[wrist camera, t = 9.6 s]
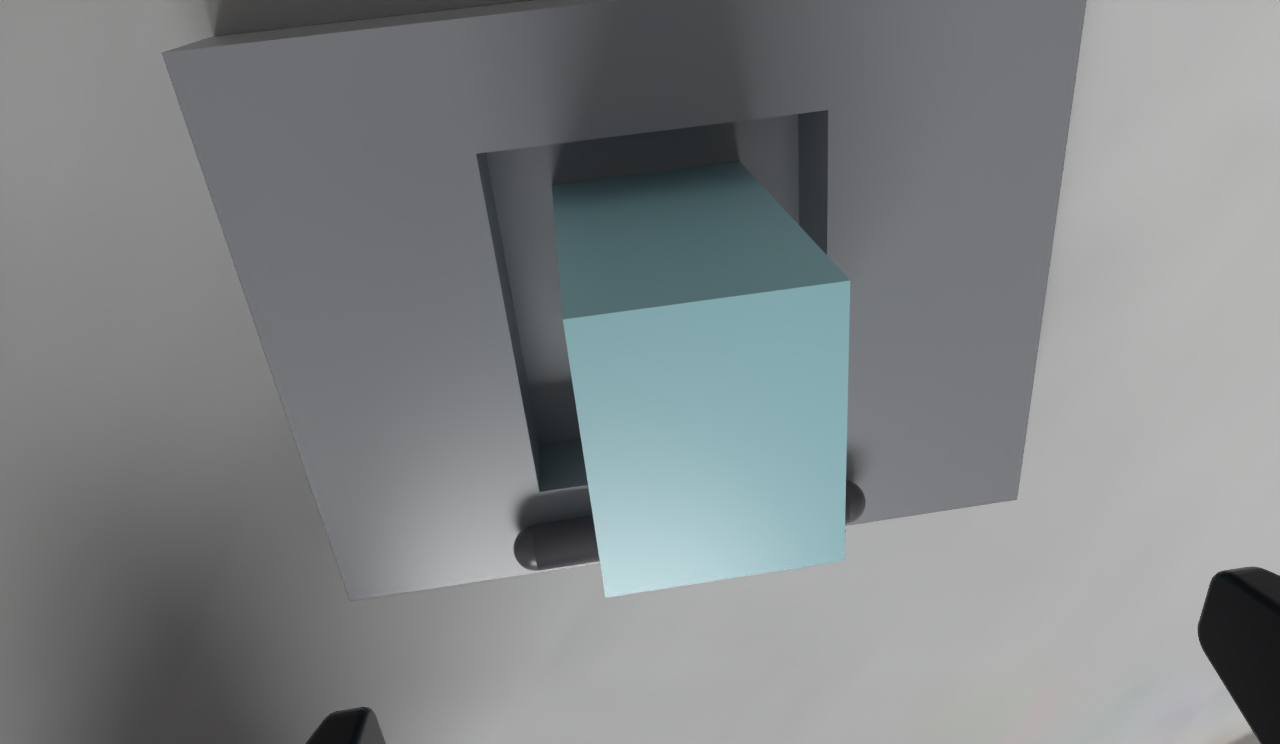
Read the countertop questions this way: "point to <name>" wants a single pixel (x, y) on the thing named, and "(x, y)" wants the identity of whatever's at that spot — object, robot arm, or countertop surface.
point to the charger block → (703, 376)
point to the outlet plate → (604, 148)
